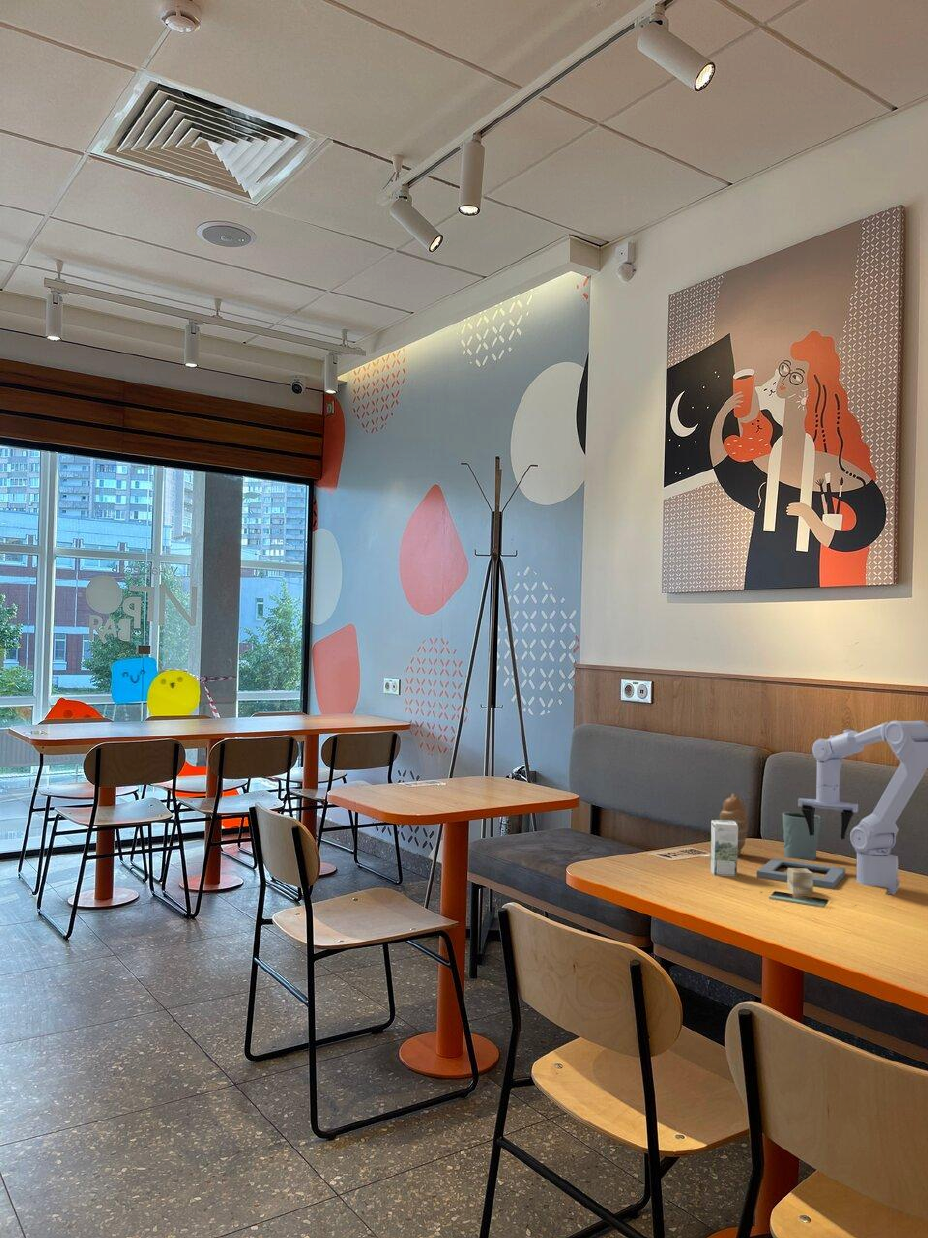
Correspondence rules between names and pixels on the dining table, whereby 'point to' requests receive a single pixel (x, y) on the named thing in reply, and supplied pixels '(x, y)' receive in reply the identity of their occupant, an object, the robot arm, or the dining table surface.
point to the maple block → (800, 882)
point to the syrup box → (724, 848)
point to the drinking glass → (799, 836)
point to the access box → (826, 882)
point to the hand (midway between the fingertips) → (827, 836)
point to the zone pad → (788, 898)
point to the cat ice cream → (736, 818)
